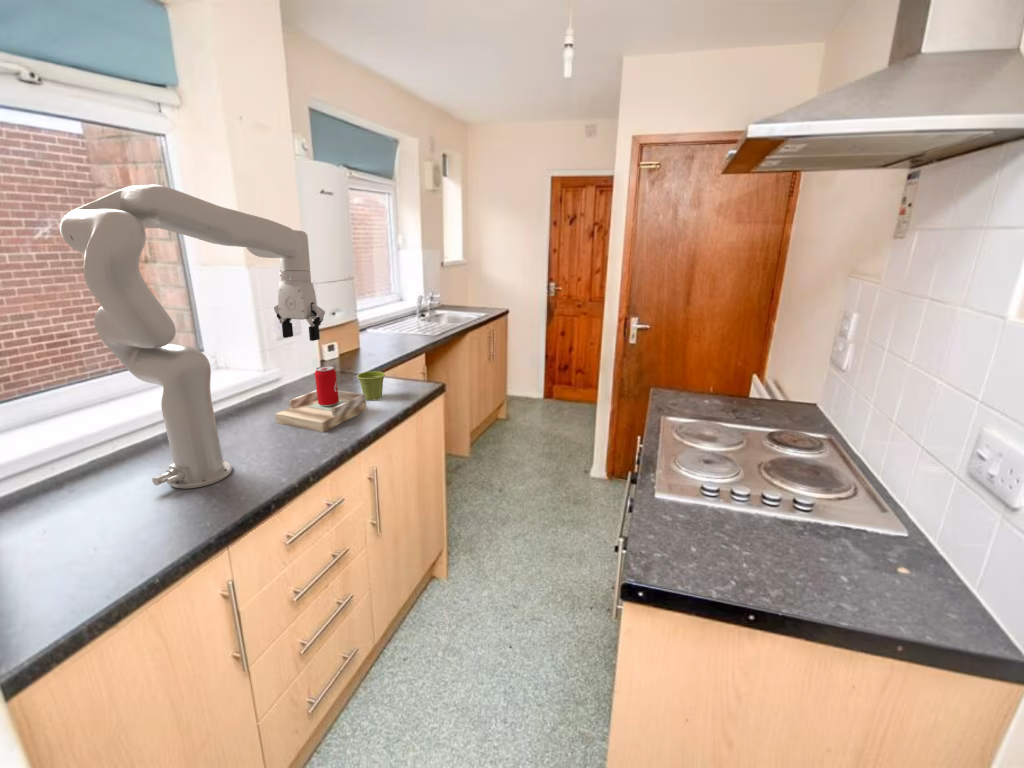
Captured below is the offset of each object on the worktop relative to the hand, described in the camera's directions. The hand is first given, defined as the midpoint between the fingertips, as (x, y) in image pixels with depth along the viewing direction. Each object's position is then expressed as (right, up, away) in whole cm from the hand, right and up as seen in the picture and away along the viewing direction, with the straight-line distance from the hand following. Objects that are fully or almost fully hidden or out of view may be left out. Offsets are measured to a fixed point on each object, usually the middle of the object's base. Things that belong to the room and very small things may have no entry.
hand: (301, 338), depth 135 cm
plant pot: (+11, -18, +33) cm, 39 cm away
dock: (0, -23, +16) cm, 28 cm away
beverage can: (+1, -20, +17) cm, 26 cm away
